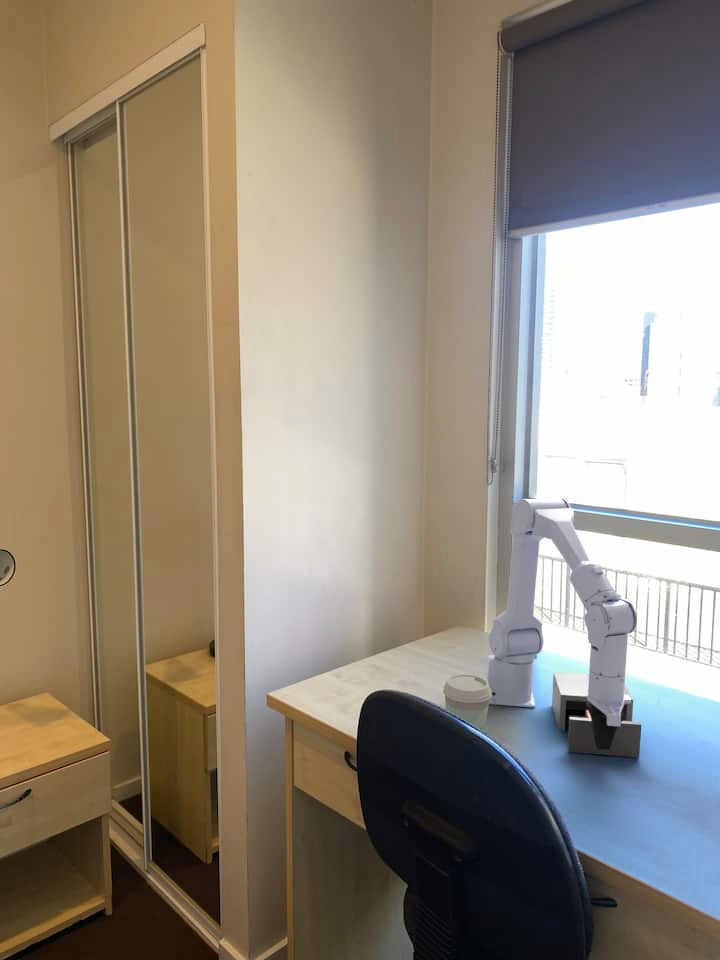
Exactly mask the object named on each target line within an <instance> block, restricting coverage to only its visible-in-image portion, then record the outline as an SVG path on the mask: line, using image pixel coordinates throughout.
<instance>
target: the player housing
mask: <svg viewBox="0 0 720 960" xmlns="http://www.w3.org/2000/svg"><path fill="white" fill-rule="evenodd" d="M588 686H589V674H585V673H573V672H572V673H571V672H557V671H554V672H553V676H552V694H551V697H552V698H551V700H552V701H551V709H552V710H553V715H554V718H555V722H556V725H557V728H558V731H560V732H565V730H566V729H565V727H566V710H578V711H581V710H582V711H586V710H588V708H587V705H586V703H587V702H589V701H588V700H587V692H588ZM624 695H628V696H630V698H631V703H630V704H627V703H626V704H624V706H623V709H622V711H623V713H624V720H623V721H631V722H633V709H634V699H633V697H632V695H631V693H630V691H629V690H628V688H627V686H626V685H625V686H624Z"/></svg>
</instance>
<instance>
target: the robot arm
mask: <svg viewBox="0 0 720 960" xmlns="http://www.w3.org/2000/svg"><path fill="white" fill-rule="evenodd" d="M574 523H575V511H574V510H573V509H572V506H571V503H570V502H569V500H568V499H566V498H565V497H564V496H563V497H562V496H561V497H557V498H555V497H554V498H553V497H552V498H551V497H550V498H549V497H548V498H529V499H527V498H521V499H519V500H517V501H516V502H515V503H514V504H512V509H511V520H510V535H512V541H511V542H512V543H511V544H512V545H511V555H510V566H509V568H510V569H509V577H508V578H509V580H508V590H507V591H508V593H507V604H506V609H505V610H504V611H503V612H501V613H500V614H499V615H498V616H497V617H495V618H494V619H493V625H492V628H491V631H490V633H489V637H488V638H489V639H488V642H489V648H490V651H491V652H492V653H493V655H487V661H486V662H487V665H486V666H487V667H486V680H487V681H488V683H489V687H490V689H491V693H492V696H491V698H490V699H489V705H496V706H497V705H498V706H510V707H523V708H535V707H536V704H535V699H534V694H533V673H534V660H537V658H538V655H539V654H540V653H541V652H542V650H543V647H544V641H545V640H544V635H543V623H542V621H541V620H540V619H539V618H538V617H537V616H536V615H535V614H534V607H535V598H536V597H535V594H536V584H537V574H538V573H537V572H538V561H539V551H540V542H541V540H543V539H548V540H550V541H552V543H553V544H554V545H555V547H556V549H557V550H558V551H559V553H560V555H561V556H562V558H563V559H564V561H565V562H566V563H567V565H568V567H569V568H570V569H571V573H570V576H569V581H570V583H571V585H572V587H573V589H574V591H575V593H576V594H577V596H578V598H579V600H580V602H581V603H582V605H583V607H584V609H585V610H586V613H584V623H585V627H586V630H587V640H588V643H589V644H590V653H589V655H590V656H589V669H588V670H589V671H588V673H589V674H588V675H589V686H588V692H587V700H588V701H589V702H587V703H586V705H587V708H588V710H589V713H590V716H591V719H592V725H593V732H594V739H595V744H596V747H597V749H605V750H609V749H610V747H611V744H612V741H613V738H614V735H615V732H616V730H617V728H618V726H619V727H620V724H621V722H622V721H623V720H624V713H623V711H622V709H623V706H624V704H626V703H627V704H630V703H631V698H630V696H628V695H624V686H626V672H627V670H626V667H627V653H628V640H629V639H628V637H629V634H632V633H633V632H634V631H635V629H636V628H637V624H638V623H637V622H638V619H637V618H638V617H637V613H636V610H635V607H634V605H633V603H632V602H631V601H630V600H628V599H627V598H624V597H623V596H622V595H621V594H620V593H617V592H616V591H615V589H614V588H613V586H612V584H611V582H610V580H609V578H608V576H607V575H606V574H605V572H604V570H603V569H602V566H601V565H600V564H598V563H595V562H592V561H590V559H589V557H588V554H587V552H586V550H585V548H584V546H583V543H582V541H581V540H580V537H579V535H578V532H577V531H576V528H575V527H574Z"/></svg>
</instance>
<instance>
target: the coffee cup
mask: <svg viewBox="0 0 720 960" xmlns="http://www.w3.org/2000/svg"><path fill="white" fill-rule="evenodd" d="M442 693H443V695H444V699H445V701H444V702H445V710H447V711H449V712H451V713H453V714H455V715H457V716H459V717H460V718H462V719H464V720H465V721H467V722H469V723H471V724H472V725H474V726H475V727H477V728H479V729H480V730H482V731H483V732H484V733H485V729H486V723H487V717H488V710H489V705H490V704H489V699H490V698H491V696H492V693H491V689H490V687H489V683H488V681H487V679H486V678H484V677H483V676H482V677H481V676H479V675H475V674H470V673H469V674H466V673H464V674H463V673H462V674H454V675H451V676H449V677H447V679H446V682H445V684H444V686H443V690H442Z"/></svg>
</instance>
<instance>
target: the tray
mask: <svg viewBox="0 0 720 960" xmlns="http://www.w3.org/2000/svg"><path fill="white" fill-rule="evenodd" d="M585 716H586V715H585ZM585 716H583V715H572V714H569V715H568V719H567V721H568V722H567V723H568V732H567V733H568V734H567V735H568V737H567V751H568V752H570V753H578V754H579V753H581V754H592V755H593V754H595V755H603V756H615V757H616V756H617V757H629V758H631V757H632V758H640V751H641V741H642V740H641V737H642V735H641V734H642V723H641V722H640V721H632V722H631V721H622V722H621V724H620V727H619V726H618V728H617V730H616V732H615V735H614V738H613V741H612V744H611V747H610V749H609V750H605V749H597V747H596V744H595V739H594V732H593V725H592V719H591V718H585Z"/></svg>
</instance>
